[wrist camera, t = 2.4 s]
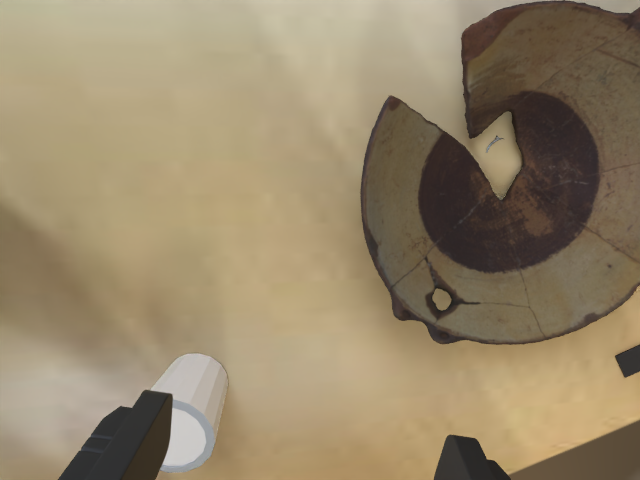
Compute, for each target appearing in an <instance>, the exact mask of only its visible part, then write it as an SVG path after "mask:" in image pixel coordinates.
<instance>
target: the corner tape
mask: <svg viewBox="0 0 640 480" xmlns="http://www.w3.org/2000/svg"><path fill="white" fill-rule="evenodd" d="M615 357H616V359H617V361H618V363H619V366H620V368H621V370H622V372H623V374H624V377H625V378H626V377H628V376H630V375H633V374H635V373H637V372H639V371H640V345H638V346H636V347H634V348H632V349H630V350H627V351H625V352H623V353H621V354H619V355H616V356H615Z"/></svg>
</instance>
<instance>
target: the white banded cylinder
mask: <svg viewBox="0 0 640 480" xmlns="http://www.w3.org/2000/svg"><path fill="white" fill-rule="evenodd" d="M227 388H228V378H227V373H226V372H225V370H224V368H223V367H222V365H221V364H220V363H219V362H217V361H216V360H215V359H213V358H212V357H210V356H207V355H203V354H200V353H192V354H185V355H183V356H181V357H178V358H176V359H175V361H174V362H173V363H172V364H171V365H170V366H169V367H168V368H167V370H166V371H165V372H164V373H163V374H162V376H161V377H160V378H159V379H158V380H157V382H156V383H155V384H154V385H153V386H152V388H151V389H150V390H151V391H158V392H165V393H171V394H172V395H173V406H172V421H171V436H170V442H169V447H168V451H167V454H166V457H165V459H164V462H163V464H162V466H161V468H160V470H161V471H164V472H168V473H172V472H187V471H189V470H192V469H194V468H197V467H200V466H201V465H202V464H203V463H204V462H205V461H206V460H207V459H208V458H209V457H210V456H211V453H212V451H213V448H214V445H215V441H216V437H217V432H218V428H219V423H220V419H221V415H222V410H223V406H224V401H225V397H226V392H227Z"/></svg>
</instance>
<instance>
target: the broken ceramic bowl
mask: <svg viewBox="0 0 640 480" xmlns="http://www.w3.org/2000/svg"><path fill="white" fill-rule="evenodd" d="M461 40H462V50H461V57H462V64H463V81H462V82H463V85H464V94H463V95H464V98H465V103H466V113H465V118H466V123H467V130H468V133H469V138H470V139H471V138H475V137H477V136H478V135H479V134H481V133H482V132H483V131H484V130H485V129H486V128H487V127H488V126H489V125H490V124H491V123H492V122H493V121H495V120H496V119H497V118H498V117H499V116H501V115H502V114H503V113H504V112H506V111H510V112H511V113H512V123H513V126H514V130H515V135H516V142H517V144H518V146H519V149H520V151H521V153H522V156H523V162H524V164H523V166H522V169H521V171H520V173H519V174H517V175H516V178H515V180H514V181H513V184H512V185H511V187H510V189H509V190H508V191H507V195H506V197H505V198H504V199H502V200H500V199H498V198H497V196H496V195H495V193H494V192H493V190H492V189H491V186H490V183H489V181H488V179H487V178H486V177H485V175H484V173H483V172H482V170H481V169H480V167H479V164H478V163H477V162H476V160H475V159H474V158H473V156H472V155H471V154H470V153H469V151H468V150H467V149H466V147H465V146H463V145H462V144H460V143H459V142H458V141H457V140H456V139H455V138H453V137H452V136H450V135H449V134H448V133H446V132H445V131H443V130H442V129H440V128H439V127H438V126H437V125H436V124H434V123H432V122H430V121H427V120H426V119H425V118H424V117H423V116H422V115H421V114H420V113H418V112H416V111H415V110H413V109H411V108H410V107H408V105H407V104H406V103H404V102H403V101H401V100H400V99H398V98H396V97H393V96H389V97H388V99H387V100H386V101H385V103H384V105H383V107H382V109H381V111H380V114H379V116H378V119H377V121H376V124H375V126H374V128H373V129H372V133H371V136H370V139H369V142H368V146H367V150H366V154H365V158H364V165H363V173H362V182H361V213H362V222H363V230H364V234H365V239H366V243H367V246H368V249H369V252H370V255H371V257H372V260H373V262H374V265H375V267H376V270H377V271H378V274H379V275H380V277H381V278H382V280H383V282H384V283H385V286H386V287H387V289H388V291H389V292H390V295H391V299H392V309H393V313H394V316H395V317H396V318H398V319H399V320H402V321H405V320H416V321H421V322H423V323H424V324H425V325H426V326H427V328H428V331H429V334H430V336H431V338H432V339H433V340H434V341H436V342H437V343H440V344H449V343H454V342H457V341H460V340H470V341H475V342H479V343H484V344H496V345H501V344H510V345H512V344H526V343H535V342H540V341H544V340H549V339H552V338H555V337H560V336H563V335H565V334H568V333H571V332H574V331H577V330H578V329H581V328H583V327H585V326H587V325H589V324H590V323H592V322H595V321H597V320H598V319H600V318H602V317H604V316H607V315H608V314H609V313H611V312H612V311H614V310H615V309H617V308H618V307H619V306H621V305H622V304H623V303H624V302H625V301H627V300H628V299H629V298H630V297H631V296H632V295H633V293H634V291H635V290H636V288H637V287H638V286H639V285H640V7H639V8H638V9H637V10H635V11H634V12H632V13H631V14H629V13H613V12H610V11H606V10H603V9H601V8H600V7H596V6H591V5H588V4H585V3H576V2H573V1H565V0H563V1H542V2H532V3H525V4H520V5H515V6H511V7H507V8H503V9H500V10H497V11H495V12H493V13H492V14H490V15H489V16H488V17H486V18H483V19H482V20H480V21H479V22H477V23H475V24H472V25H471V26H470V27H468V28H467V29H465V30H464V32H463V34H462V38H461ZM500 139H504V138H498V136H497V135H496V139H495V140H494V141H493V142H492V143H491V144H490V145H489V146H488V148H487V152H488V150H489V148H490V146H491V145H492V144H493V143H494V142H496V141H498V140H500ZM487 152H486V153H487ZM436 288H438V289H442V290H444V291H446V292H448V294H449V295H450V297H451V299H452V301H451V304H450V305H449V307H448V308H447V309H446V310H443V311H441V310H439V309H437V307H436V304H435V303H434V302H433V300H432V296H433V294H434V291H435V289H436Z"/></svg>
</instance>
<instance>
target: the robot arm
mask: <svg viewBox="0 0 640 480" xmlns="http://www.w3.org/2000/svg"><path fill="white" fill-rule="evenodd" d="M172 406H173V395H172V394H171V393H165V392H158V391H151V390H145V391H144V392H143V393H142V394H141V396H140V397H139V399H138V400H137V402H136V403H135V405H134V406H133V408H129V407H122V406H120V407H119V408H117V409H116V410H115V411H113V412H112V413H110V414H109V415H107V416H106V417H105V418H103V419H102V421H101V422H100V423H99V425H98V426H97V427H96V429H95V430H94V432H93V433H92V434H91V437H90V438H88V440H87V441H86V442H85V444H84V445H83V446H82V449H81V451H79V452H78V453H77V455H76V456H75V457H74V459H73V460H72V461H71V463H70V464H69V465H68V467H67V468H66V469H65V471H64V472H63V473H62V475H61V476H60V478H59V479H58V480H155V479H156V477H157V474H158V472H159V470H160V468H161V466H162V464H163V462H164V459H165V457H166V454H167V451H168V447H169V442H170V436H171V421H172ZM434 480H511V479H510V477H509V476H508V475H507V474H506V473H505V472H504V471H503V469H502V468H501V467H500V466H499V465H498V464H497V463H496V462H495V461H493V460H487V459H486V456H485V454H484V452H483V450H482V448H481V446H480V444H479V442H478V441H477V439H475V438H470V437H463V436H456V435H448V436H447V438H446V440H445V443H444V447H443V450H442V453H441V456H440V460H439V463H438V466H437V469H436V472H435V476H434Z"/></svg>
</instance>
